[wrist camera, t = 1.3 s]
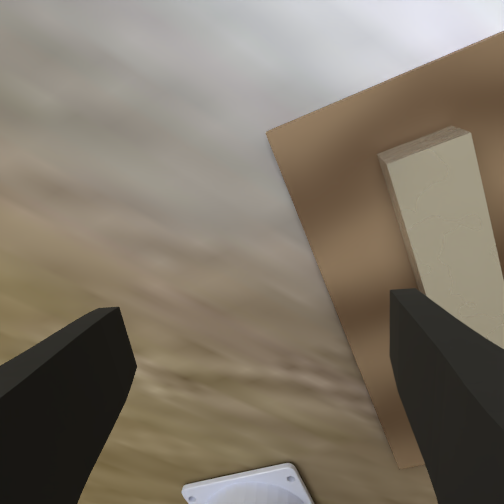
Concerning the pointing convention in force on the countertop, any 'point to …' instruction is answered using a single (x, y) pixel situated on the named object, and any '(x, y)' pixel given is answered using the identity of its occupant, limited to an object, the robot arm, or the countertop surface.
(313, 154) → the walnut board
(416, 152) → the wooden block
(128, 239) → the countertop surface
